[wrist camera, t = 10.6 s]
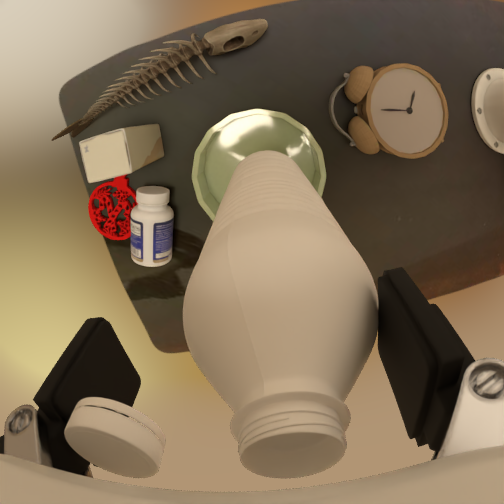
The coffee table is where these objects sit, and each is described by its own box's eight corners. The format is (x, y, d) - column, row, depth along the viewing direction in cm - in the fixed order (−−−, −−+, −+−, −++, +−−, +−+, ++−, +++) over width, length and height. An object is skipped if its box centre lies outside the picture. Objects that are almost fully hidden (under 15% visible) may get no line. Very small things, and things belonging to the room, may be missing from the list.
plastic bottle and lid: (300, 146, 27) (484, 322, 4) (306, 216, 29) (402, 488, 7) (201, 157, 27) (0, 352, 5) (212, 226, 30) (120, 497, 7)
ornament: (84, 228, 40) (97, 159, 36) (86, 226, 41) (99, 159, 37) (134, 248, 41) (152, 178, 37) (135, 246, 42) (153, 177, 38)
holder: (305, 100, 33) (312, 98, 29) (325, 212, 39) (334, 225, 34) (189, 125, 35) (178, 127, 30) (217, 232, 40) (211, 248, 36)
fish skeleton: (277, 51, 31) (279, 21, 21) (78, 156, 36) (31, 165, 27) (257, 13, 29) (252, -24, 20) (64, 121, 35) (16, 123, 25)
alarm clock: (451, 158, 32) (344, 164, 31) (427, 152, 36) (327, 158, 35) (446, 68, 27) (334, 56, 26) (422, 71, 32) (317, 63, 31)
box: (128, 164, 37) (85, 184, 27) (122, 131, 35) (75, 141, 25) (167, 156, 37) (132, 173, 26) (161, 122, 35) (123, 127, 25)
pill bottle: (172, 250, 42) (176, 185, 39) (170, 269, 38) (174, 197, 34) (134, 247, 41) (135, 183, 37) (127, 266, 36) (127, 194, 33)
